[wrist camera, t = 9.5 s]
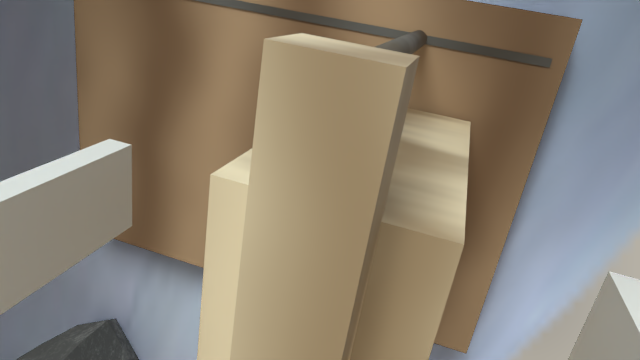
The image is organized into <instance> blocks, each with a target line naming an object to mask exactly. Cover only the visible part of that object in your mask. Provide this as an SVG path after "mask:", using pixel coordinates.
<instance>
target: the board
mask: <svg viewBox="0 0 640 360" xmlns="http://www.w3.org/2000/svg"><path fill="white" fill-rule="evenodd" d="M74 18H75V42H76V67H77V92H78V117H79V142H80V150H82V149H85V148H87V147H90V146H92V145H95V144H97V143H100V142H102V141H105V140H108V139H112V140H116V141H120V142H123V143H127V144H131V145H132V226H131V227H130V228H128V229H127V230H126V231H124V232H123V233H121V234H120V235H118V236H117V237H115V238H114V239H116V240H119V241H122V242H125V243H128V244H132V245H135V246H138V247H141V248H144V249H147V250H150V251H153V252H156V253H159V254H162V255H165V256H168V257H171V258H174V259H178V260H181V261H184V262H187V263H190V264H193V265H196V266H199V267H202V268H204V257H205V244H206V230H207V216H208V202H209V188H210V174H212V173H214V172H215V171H217V170H218V169H220V168H222V167H223V166H225V165H226V164H228V163H229V162H231V161H233V160H234V159H236V158H237V157H239V156H241V155H242V154H244V153H245V152H247V151H249V150H250V149H252V147H253V138H254V128H255V119H256V109H257V100H258V90H259V81H260V72H261V62H262V53H263V43H264V39H265V38H272V37H279V36H285V35H292V34H299V33H305V34H310V35H315V36H320V37H325V38H330V39H335V40H340V41H346V42H351V43H356V44H361V45H366V46H371V47H375V46H378V45H380V44H383V43H385V42H388V41H391V40H393V39H396V38H398V37H401V36H403V35H406V34H408V33H411V32H414V31H416V30H422V31H423V32H425V34H426V35H427V41H426V44H425V45H424V46H422V47H421V48H420V49H418V50H417V51H416V52H414V53H413V54H412V55H417V56H420V57H419V61H418V65H417V70H416V74H415V78H414V83H413V87H412V91H411V96H410V100H409V105H408V108H410V109H415V110H419V111H424V112H428V113H433V114H437V115H442V116H446V117H451V118H455V119H460V120H464V121H469V122H471V125H470V144H469V163H468V183H467V202H466V221H465V240H464V247H463V250H462V254H461V257H460V260H459V263H458V266H457V270H456V273H455V276H454V279H453V283H452V286H451V289H450V292H449V295H448V299H447V302H446V305H445V308H444V311H443V315H442V318H441V321H440V324H439V327H438V331H437V334H436V337H435V340H434V343H435V344H438V345H441V346H444V347H448V348H451V349H454V350H457V351H460V352H463V353H467V350H468V347H469V344H470V341H471V338H472V335H473V333H474V330H475V327H476V324H477V321H478V318H479V315H480V313H481V310H482V307H483V304H484V301H485V298H486V295H487V292H488V290H489V287H490V284H491V281H492V278H493V275H494V272H495V269H496V267H497V264H498V261H499V258H500V255H501V252H502V249H503V247H504V244H505V241H506V238H507V235H508V232H509V229H510V226H511V224H512V221H513V218H514V215H515V212H516V209H517V206H518V204H519V201H520V198H521V195H522V192H523V189H524V186H525V183H526V181H527V178H528V175H529V172H530V169H531V166H532V163H533V161H534V158H535V155H536V152H537V149H538V146H539V143H540V140H541V138H542V135H543V132H544V129H545V126H546V123H547V120H548V118H549V115H550V112H551V109H552V106H553V103H554V100H555V97H556V95H557V92H558V89H559V86H560V83H561V80H562V77H563V74H564V72H565V69H566V66H567V63H568V60H569V57H570V54H571V52H572V49H573V46H574V43H575V40H576V37H577V34H578V31H579V29H580V26H581V23H582V19H576V18H570V17H564V16H558V15H552V14H546V13H540V12H534V11H528V10H522V9H516V8H509V7H503V6H497V5H491V4H485V3H479V2H473V1H467V0H74Z"/></svg>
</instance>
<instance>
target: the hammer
mask: <svg viewBox="0 0 640 360" xmlns="http://www.w3.org/2000/svg"><path fill="white" fill-rule="evenodd" d="M17 360H139V359H138V358H137V356H136V354H135V352H134V351H133V349H132V347H131V345H130V343H129V342H128V340H127V338H126V336H125V335H124V333H123V331H122V329H121V328H120V326H119V324H118V322H117V320H116V319H111V320H104V321H99V322H93V323H87V324H82V325H77V326H75V327H73V328H71V329H69V330H68V331H66V332H64V333H62V334H60V335H58V336H56V337H54V338H52V339H51V340H49V341H47V342H45V343H43V344H41V345H39V346H38V347H36V348H34V349H33V350H31V351H29V352H28V353H26V354H25V355H23V356H21V357H20V358H18V359H17Z"/></svg>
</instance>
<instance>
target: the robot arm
mask: <svg viewBox="0 0 640 360" xmlns="http://www.w3.org/2000/svg"><path fill="white" fill-rule="evenodd" d="M131 226H132V145H131V144H127V143H123V142H120V141H116V140H112V139H108V140H105V141H102V142H100V143H97V144H95V145H92V146H90V147H87V148H85V149H82V150H79V151H77V152H74V153H72V154H69V155H67V156H64V157H62V158H59V159H57V160H54V161H51V162H49V163H46V164H44V165H41V166H39V167H36V168H34V169H31V170H29V171H26V172H23V173H21V174H18V175H16V176H13V177H11V178H8V179H6V180H3V181H1V182H0V315H1V314H3V313H4V312H6V311H7V310H9V309H10V308H12V307H13V306H15V305H16V304H18V303H19V302H21V301H22V300H23V299H25V298H26V297H28V296H29V295H31V294H32V293H34V292H35V291H37V290H38V289H40V288H41V287H43V286H44V285H46V284H47V283H49V282H50V281H52V280H53V279H55V278H56V277H57V276H59V275H60V274H62V273H63V272H65V271H66V270H68V269H69V268H71V267H72V266H74V265H75V264H77V263H78V262H80V261H81V260H83V259H84V258H86V257H87V256H89V255H90V254H91V253H93V252H94V251H96V250H97V249H99V248H100V247H102V246H103V245H105V244H106V243H108V242H109V241H111V240H112V239H114V238H115V237H117V236H118V235H120V234H121V233H123V232H124V231H126V230H127V229H128V228H130V227H131ZM568 360H640V279H636V278H632V277H628V276H625V275H621V274H617V273H613V272H610V271H609V272H608V274H607V277H606V279H605V281H604V283H603V285H602V287H601V289H600V292H599V294H598V296H597V298H596V301H595V302H594V304H593V307H592V309H591V311H590V313H589V315H588V317H587V320H586V322H585V324H584V326H583V328H582V330H581V332H580V334H579V337H578V339H577V341H576V343H575V345H574V347H573V349H572V352H571V354H570V356H569V358H568Z"/></svg>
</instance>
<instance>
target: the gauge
mask: <svg viewBox="0 0 640 360" xmlns="http://www.w3.org/2000/svg"><path fill="white" fill-rule="evenodd" d="M426 41H427V35H426V34H425V32H423V31H422V30H416V31H414V32H411V33H408V34H406V35H403V36H401V37H398V38H396V39H393V40H391V41H388V42H385V43H383V44H380V45H378V46H375V47H371V46H366V45H361V44H356V43H351V42H346V41H340V40H335V39H330V38H325V37H320V36H315V35H310V34H305V33H299V34H292V35H285V36H279V37H272V38H265V39H264V43H263V53H262V62H261V72H260V81H259V90H258V100H257V109H256V119H255V128H254V138H253V147H252V149H250V150H249V151H247V152H245V153H244V154H242V155H241V156H239V157H237V158H236V159H234V160H233V161H231V162H229V163H228V164H226V165H225V166H223V167H222V168H220V169H218V170H217V171H215V172H214V173H212V174H210V188H209V202H208V216H207V230H206V244H205V257H204V271H203V285H202V299H201V313H200V326H199V340H198V354H197V360H428V359H429V356H430V353H431V350H432V347H433V343H434V340H435V337H436V334H437V331H438V327H439V324H440V321H441V318H442V315H443V311H444V308H445V305H446V302H447V299H448V295H449V292H450V289H451V286H452V283H453V279H454V276H455V273H456V270H457V266H458V263H459V260H460V257H461V254H462V250H463V247H464V240H465V221H466V202H467V183H468V163H469V144H470V125H471V122H469V121H464V120H460V119H455V118H451V117H446V116H442V115H437V114H433V113H428V112H424V111H419V110H415V109H410V108H408V105H409V100H410V96H411V91H412V87H413V83H414V78H415V74H416V70H417V65H418V61H419V57H420V56H417V55H412V54H413V53H414V52H416V51H417V50H418V49H420V48H421V47H422V46H424V45H425V44H426Z"/></svg>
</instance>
